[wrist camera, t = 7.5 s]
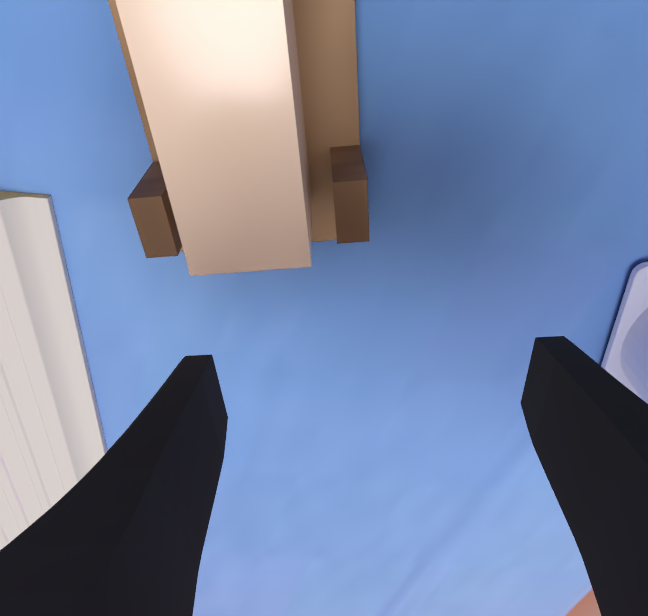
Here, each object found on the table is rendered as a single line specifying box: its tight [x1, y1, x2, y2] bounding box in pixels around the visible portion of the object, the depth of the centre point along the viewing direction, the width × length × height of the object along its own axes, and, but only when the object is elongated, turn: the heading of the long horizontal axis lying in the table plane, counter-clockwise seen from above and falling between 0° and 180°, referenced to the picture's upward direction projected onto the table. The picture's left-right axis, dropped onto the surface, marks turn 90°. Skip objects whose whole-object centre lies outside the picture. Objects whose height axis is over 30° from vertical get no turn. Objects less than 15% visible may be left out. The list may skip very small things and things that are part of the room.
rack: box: [108, 0, 369, 258], centre depth 14 cm, size 7×15×4 cm, turn 4°
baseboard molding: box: [0, 191, 107, 550], centre depth 27 cm, size 31×3×12 cm
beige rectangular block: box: [115, 0, 312, 276], centre depth 13 cm, size 4×12×4 cm, turn 4°
